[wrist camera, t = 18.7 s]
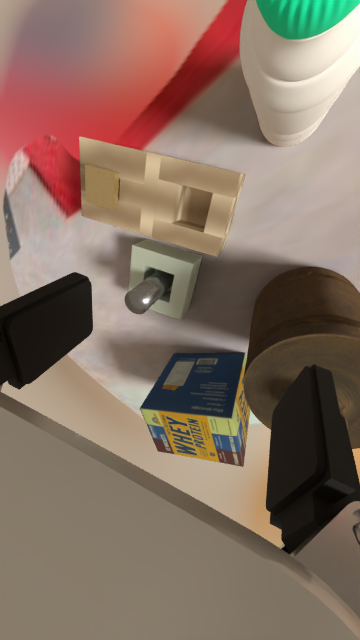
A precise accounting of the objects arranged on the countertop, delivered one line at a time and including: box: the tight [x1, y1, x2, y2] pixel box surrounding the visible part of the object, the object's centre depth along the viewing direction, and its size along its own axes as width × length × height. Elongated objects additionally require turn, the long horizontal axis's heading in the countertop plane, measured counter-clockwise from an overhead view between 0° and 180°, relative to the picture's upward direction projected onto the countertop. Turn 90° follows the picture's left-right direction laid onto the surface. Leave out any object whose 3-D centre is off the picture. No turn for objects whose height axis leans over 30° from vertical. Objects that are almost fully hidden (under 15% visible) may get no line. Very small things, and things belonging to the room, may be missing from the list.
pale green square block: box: [129, 239, 202, 320], centre depth 40 cm, size 10×10×5 cm
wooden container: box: [243, 267, 360, 449], centre depth 28 cm, size 15×15×22 cm
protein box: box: [140, 353, 250, 467], centre depth 43 cm, size 10×15×16 cm
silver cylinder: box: [125, 270, 174, 314], centre depth 37 cm, size 4×4×11 cm
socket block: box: [79, 137, 245, 257], centre depth 34 cm, size 10×22×5 cm, turn 79°
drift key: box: [85, 164, 120, 210], centre depth 33 cm, size 4×4×5 cm
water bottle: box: [240, 0, 360, 147], centre depth 17 cm, size 7×7×25 cm
